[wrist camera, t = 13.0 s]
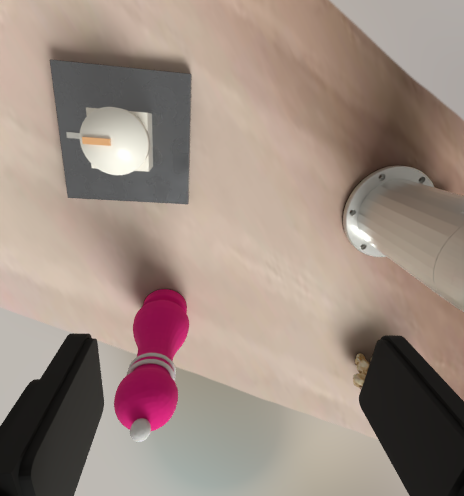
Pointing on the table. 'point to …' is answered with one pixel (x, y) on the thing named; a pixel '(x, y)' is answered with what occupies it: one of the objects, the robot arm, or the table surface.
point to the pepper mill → (153, 365)
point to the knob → (117, 140)
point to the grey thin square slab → (131, 99)
